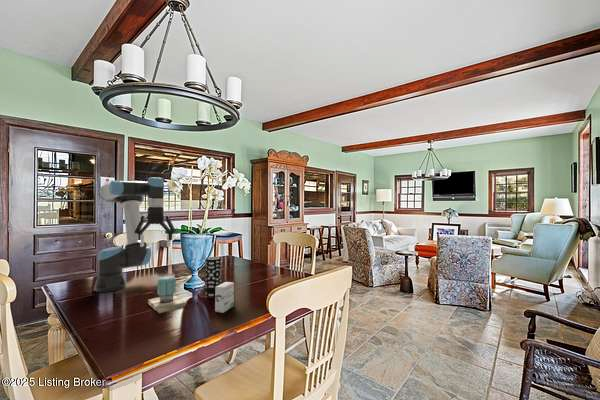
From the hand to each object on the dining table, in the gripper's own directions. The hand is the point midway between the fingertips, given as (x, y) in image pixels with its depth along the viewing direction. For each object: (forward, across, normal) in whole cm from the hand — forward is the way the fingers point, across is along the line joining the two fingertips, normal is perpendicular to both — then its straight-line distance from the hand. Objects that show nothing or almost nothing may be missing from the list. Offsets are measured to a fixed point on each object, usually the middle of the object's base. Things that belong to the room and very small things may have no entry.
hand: (155, 246), depth 147 cm
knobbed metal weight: (+24, +11, -13) cm, 30 cm away
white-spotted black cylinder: (+27, +30, -1) cm, 41 cm away
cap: (+20, +11, -13) cm, 27 cm away
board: (+26, +11, -13) cm, 32 cm away
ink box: (+27, +40, -20) cm, 52 cm away
